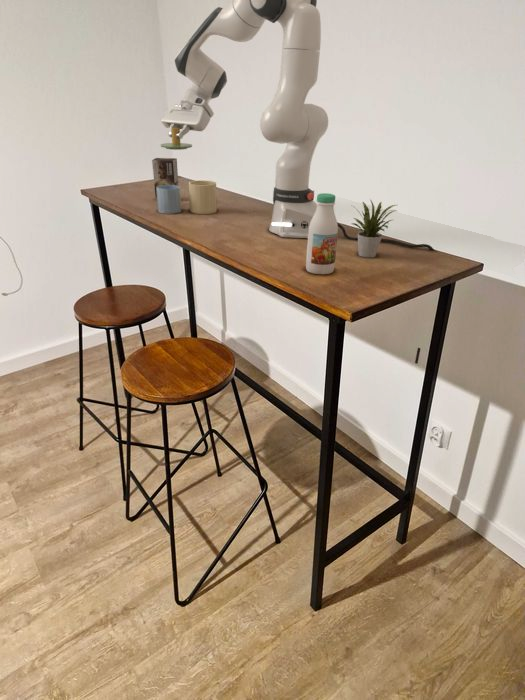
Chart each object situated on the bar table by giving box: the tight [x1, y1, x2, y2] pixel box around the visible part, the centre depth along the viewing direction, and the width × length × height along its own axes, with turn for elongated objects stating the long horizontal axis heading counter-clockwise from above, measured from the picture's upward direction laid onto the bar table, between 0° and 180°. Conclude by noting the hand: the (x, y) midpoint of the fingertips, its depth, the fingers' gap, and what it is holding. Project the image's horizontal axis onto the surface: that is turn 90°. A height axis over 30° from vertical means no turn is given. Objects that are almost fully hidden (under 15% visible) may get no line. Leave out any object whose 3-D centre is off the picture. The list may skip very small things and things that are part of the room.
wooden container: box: [188, 180, 218, 215], centre depth 184 cm, size 10×10×10 cm
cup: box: [156, 185, 182, 215], centre depth 182 cm, size 9×9×9 cm
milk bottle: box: [305, 192, 339, 275], centre depth 124 cm, size 8×8×20 cm
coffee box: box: [151, 157, 180, 201], centre depth 199 cm, size 9×6×16 cm
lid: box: [160, 128, 193, 151], centre depth 172 cm, size 11×11×7 cm
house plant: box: [351, 199, 398, 259], centre depth 138 cm, size 14×14×16 cm
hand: (174, 136), depth 172 cm, fingers closed on lid, 3 cm apart
